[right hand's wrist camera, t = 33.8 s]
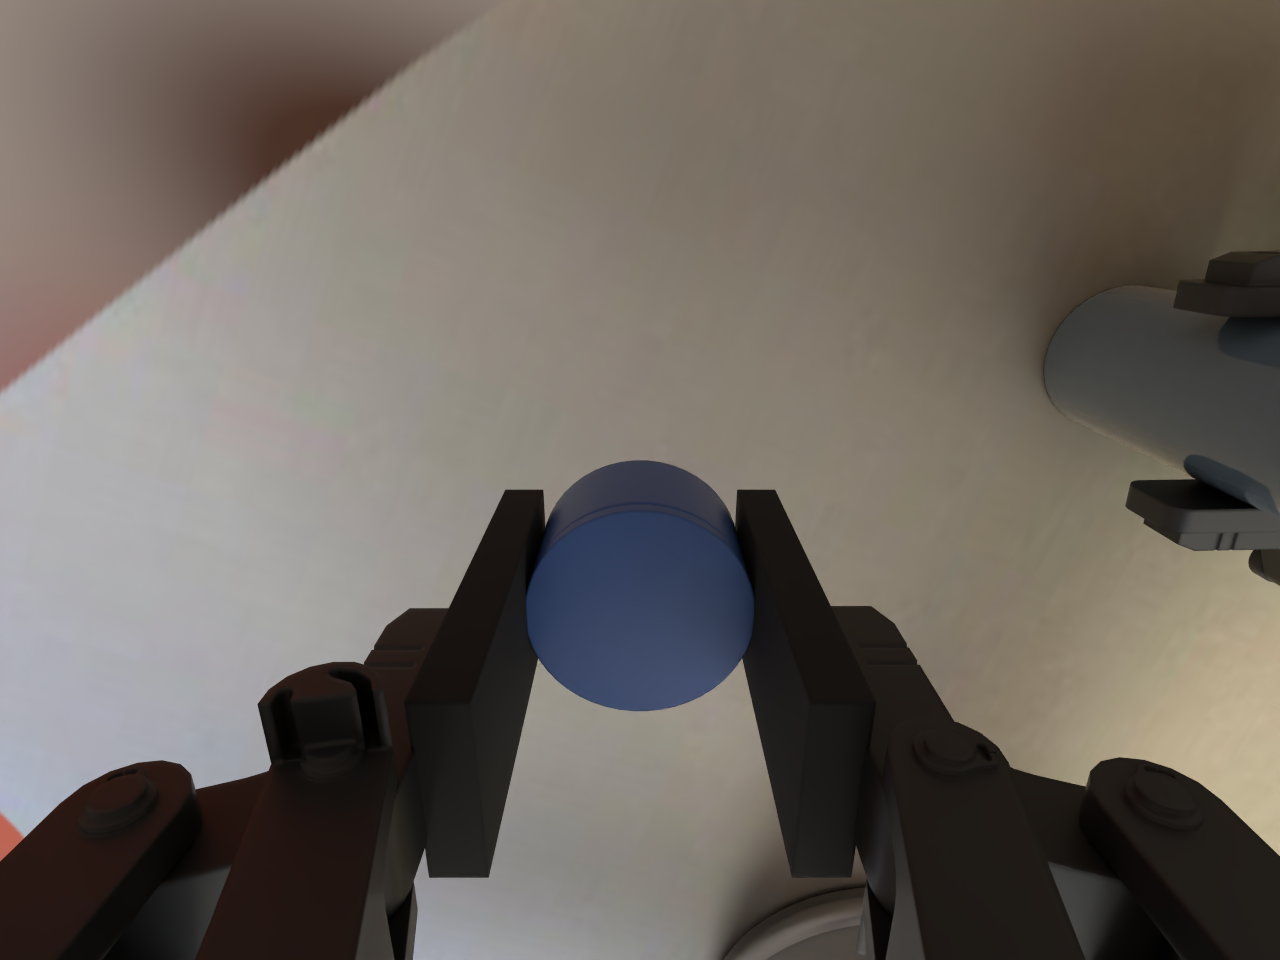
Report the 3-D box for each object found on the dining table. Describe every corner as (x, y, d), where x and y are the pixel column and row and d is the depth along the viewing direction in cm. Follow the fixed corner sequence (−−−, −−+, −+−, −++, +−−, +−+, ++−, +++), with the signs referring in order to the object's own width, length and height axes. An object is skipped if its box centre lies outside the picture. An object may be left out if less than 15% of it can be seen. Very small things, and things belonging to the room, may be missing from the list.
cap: (720, 441, 14) (738, 490, 11) (750, 615, 15) (770, 693, 13) (521, 478, 14) (497, 534, 12) (568, 647, 15) (555, 727, 13)
